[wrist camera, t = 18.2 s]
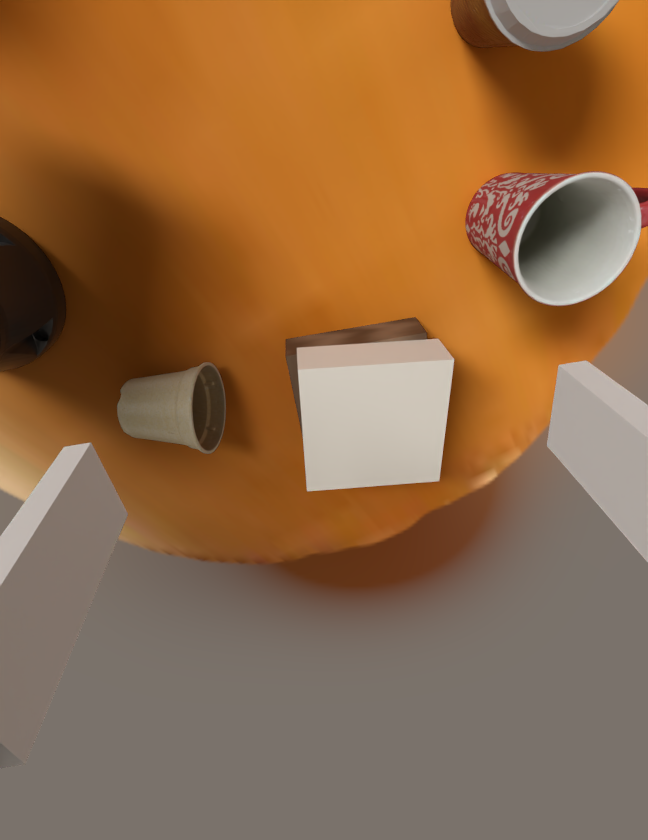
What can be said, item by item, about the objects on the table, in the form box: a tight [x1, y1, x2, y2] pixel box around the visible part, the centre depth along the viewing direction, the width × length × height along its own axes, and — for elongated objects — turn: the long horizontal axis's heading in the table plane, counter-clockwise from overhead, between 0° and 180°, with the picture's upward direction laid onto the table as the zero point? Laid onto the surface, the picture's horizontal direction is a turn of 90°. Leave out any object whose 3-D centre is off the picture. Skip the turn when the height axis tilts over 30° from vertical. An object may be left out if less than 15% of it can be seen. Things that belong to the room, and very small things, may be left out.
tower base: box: [286, 317, 427, 436], centre depth 50 cm, size 14×14×5 cm
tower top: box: [297, 339, 454, 491], centre depth 46 cm, size 14×14×5 cm
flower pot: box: [117, 362, 226, 454], centre depth 47 cm, size 9×9×9 cm
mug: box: [466, 171, 648, 306], centre depth 38 cm, size 13×9×14 cm
